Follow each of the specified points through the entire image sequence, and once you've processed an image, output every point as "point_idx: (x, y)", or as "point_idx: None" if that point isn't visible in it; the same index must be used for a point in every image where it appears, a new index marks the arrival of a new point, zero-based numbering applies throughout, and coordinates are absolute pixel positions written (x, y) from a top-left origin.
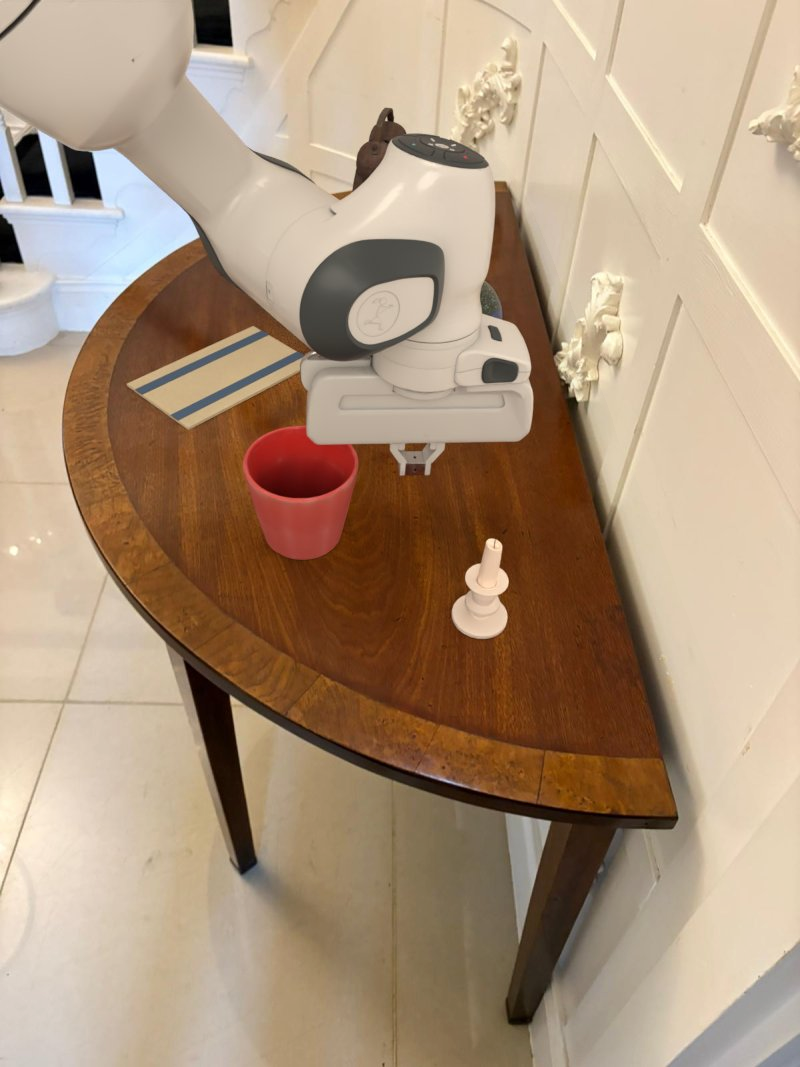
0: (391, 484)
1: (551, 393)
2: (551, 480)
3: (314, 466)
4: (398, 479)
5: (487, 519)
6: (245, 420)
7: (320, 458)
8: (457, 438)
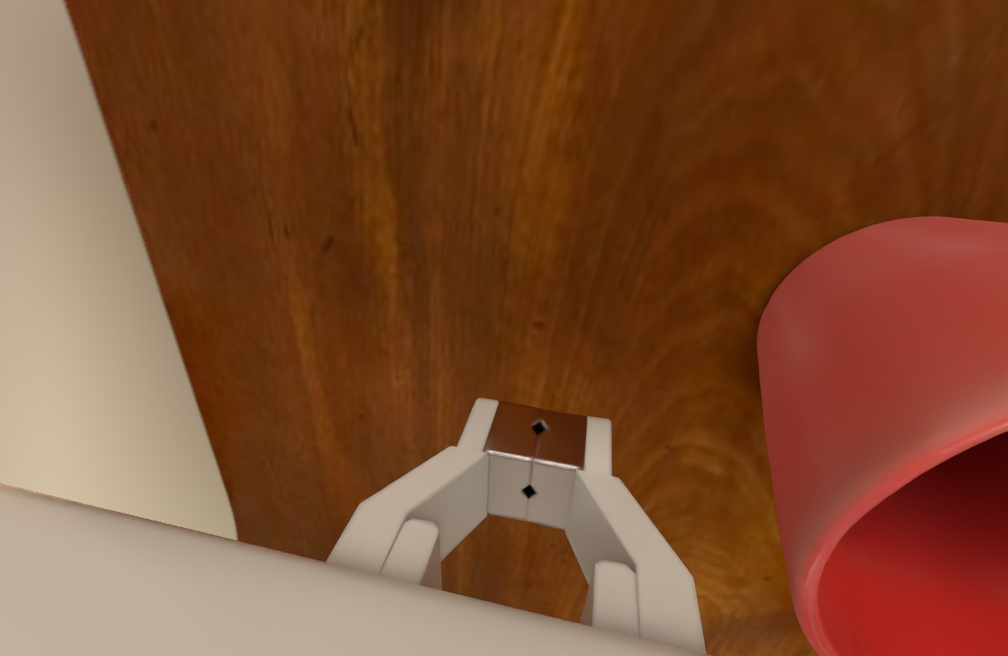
0: None
1: None
2: (233, 371)
3: (858, 527)
4: None
5: (366, 289)
6: None
7: (852, 555)
8: (197, 582)
